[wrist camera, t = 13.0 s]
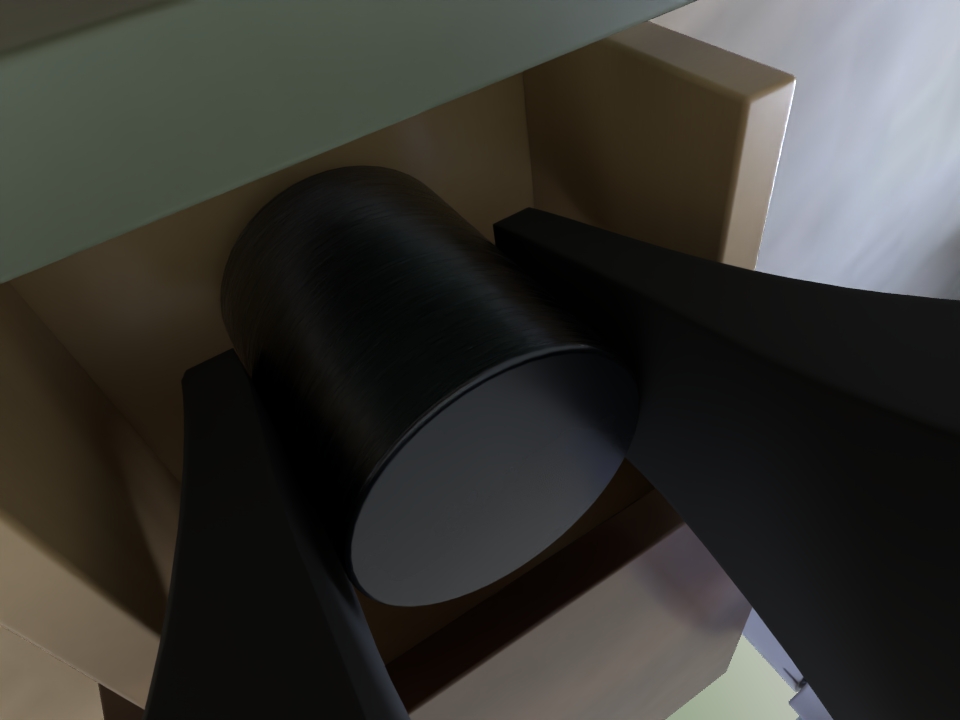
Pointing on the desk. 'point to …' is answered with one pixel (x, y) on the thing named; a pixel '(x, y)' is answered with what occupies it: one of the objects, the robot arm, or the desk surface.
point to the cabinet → (578, 632)
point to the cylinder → (421, 384)
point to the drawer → (259, 178)
